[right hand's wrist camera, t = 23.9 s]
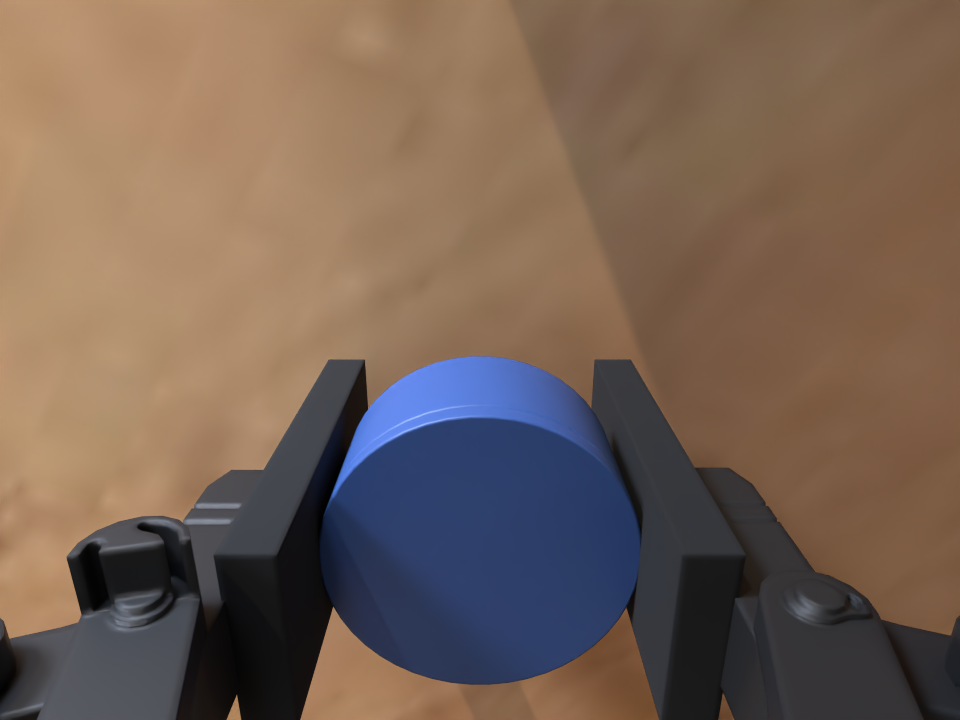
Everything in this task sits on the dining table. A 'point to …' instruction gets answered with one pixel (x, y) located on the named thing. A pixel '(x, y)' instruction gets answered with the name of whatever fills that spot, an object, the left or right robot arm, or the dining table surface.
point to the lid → (480, 525)
